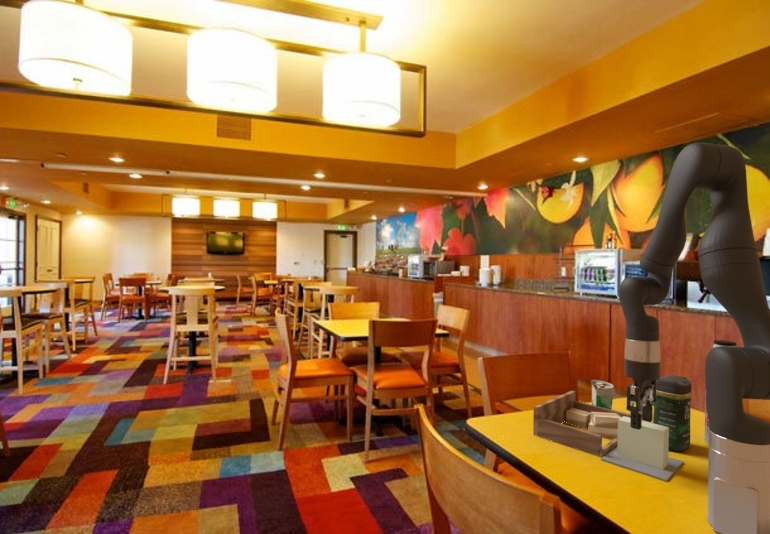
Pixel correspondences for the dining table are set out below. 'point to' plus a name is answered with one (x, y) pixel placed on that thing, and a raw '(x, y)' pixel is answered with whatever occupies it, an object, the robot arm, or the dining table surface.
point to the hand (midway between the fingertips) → (641, 424)
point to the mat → (643, 466)
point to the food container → (602, 394)
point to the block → (643, 443)
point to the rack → (551, 428)
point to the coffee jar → (674, 409)
